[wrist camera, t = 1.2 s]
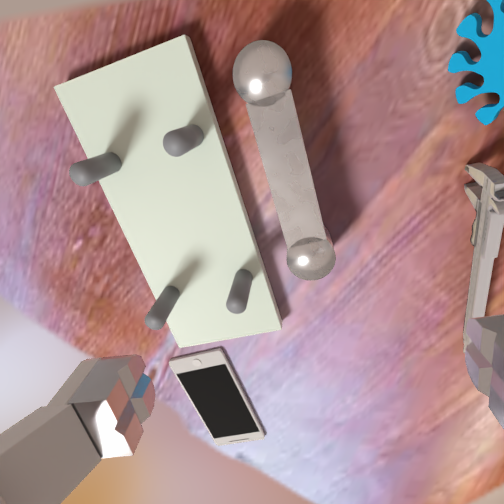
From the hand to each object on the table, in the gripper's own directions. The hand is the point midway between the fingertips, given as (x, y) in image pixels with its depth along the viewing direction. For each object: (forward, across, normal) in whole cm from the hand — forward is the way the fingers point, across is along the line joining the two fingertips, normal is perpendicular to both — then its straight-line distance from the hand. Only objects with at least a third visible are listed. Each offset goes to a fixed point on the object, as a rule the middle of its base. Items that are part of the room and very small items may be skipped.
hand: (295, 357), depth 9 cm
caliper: (+25, -16, +12) cm, 32 cm away
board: (+25, +11, +3) cm, 27 cm away
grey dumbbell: (+24, 0, 0) cm, 25 cm away
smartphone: (+26, +13, +27) cm, 40 cm away
